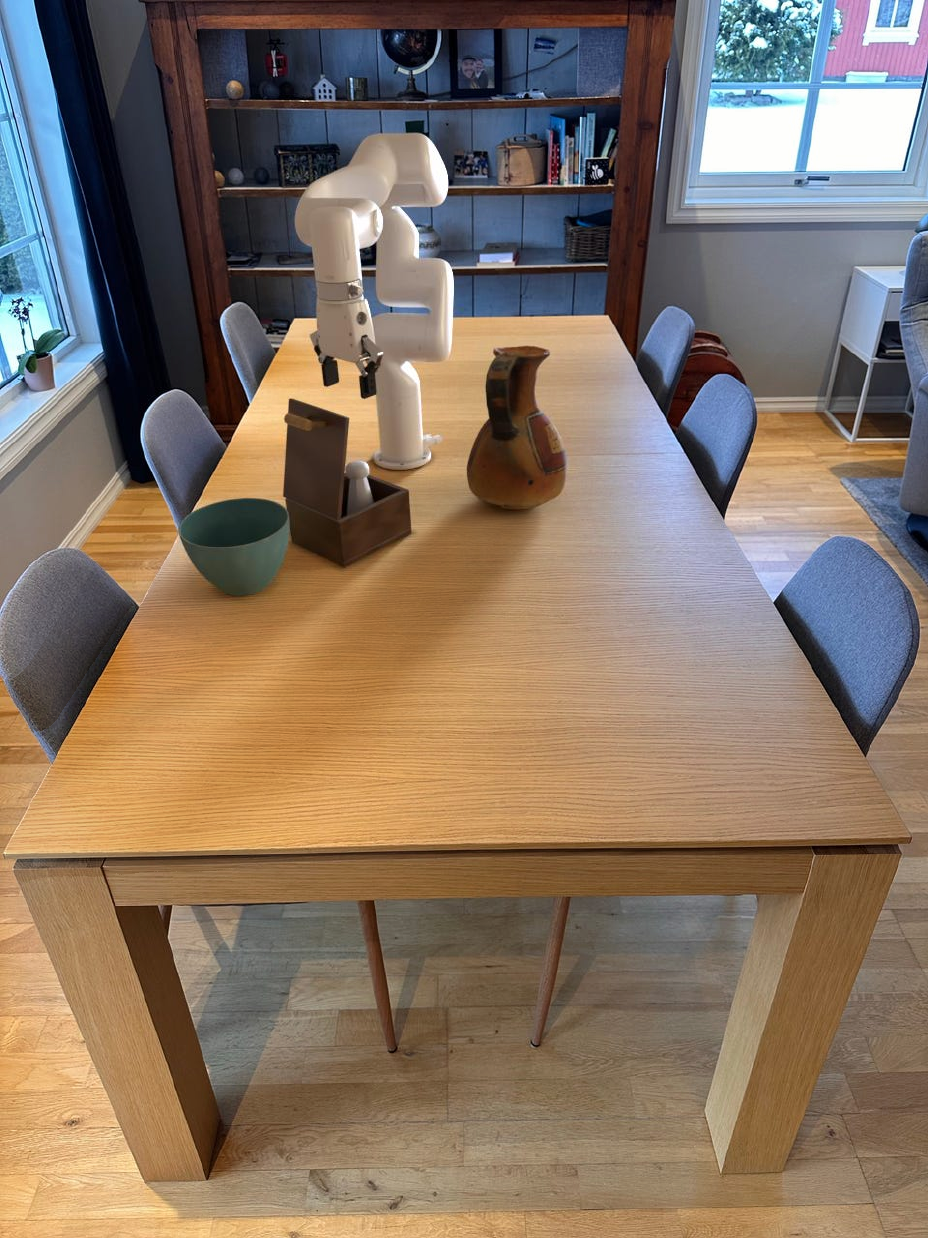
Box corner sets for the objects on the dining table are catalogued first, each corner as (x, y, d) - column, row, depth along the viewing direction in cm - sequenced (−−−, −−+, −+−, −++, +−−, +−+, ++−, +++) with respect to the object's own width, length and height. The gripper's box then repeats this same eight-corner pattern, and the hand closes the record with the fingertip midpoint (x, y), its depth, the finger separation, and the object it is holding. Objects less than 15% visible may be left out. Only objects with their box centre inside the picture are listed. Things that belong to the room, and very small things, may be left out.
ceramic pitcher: (579, 485, 190) (585, 340, 174) (544, 528, 175) (548, 373, 158) (492, 471, 197) (490, 330, 181) (451, 510, 182) (445, 361, 166)
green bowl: (207, 623, 150) (192, 557, 144) (181, 574, 164) (167, 512, 157) (312, 594, 157) (303, 530, 150) (279, 549, 171) (269, 489, 164)
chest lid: (292, 398, 161) (267, 399, 157) (349, 417, 153) (324, 419, 149) (286, 496, 168) (262, 499, 164) (340, 520, 159) (316, 524, 156)
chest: (358, 510, 183) (354, 468, 178) (411, 533, 175) (408, 489, 170) (291, 542, 173) (284, 498, 168) (344, 567, 164) (339, 522, 159)
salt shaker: (383, 522, 177) (377, 459, 169) (371, 535, 172) (365, 471, 165) (355, 518, 178) (348, 455, 171) (342, 531, 174) (335, 468, 167)
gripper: (392, 292, 148) (400, 395, 158) (322, 277, 158) (333, 374, 168) (358, 302, 144) (367, 407, 153) (288, 286, 154) (301, 385, 163)
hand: (350, 390), depth 161 cm, fingers open, 9 cm apart
